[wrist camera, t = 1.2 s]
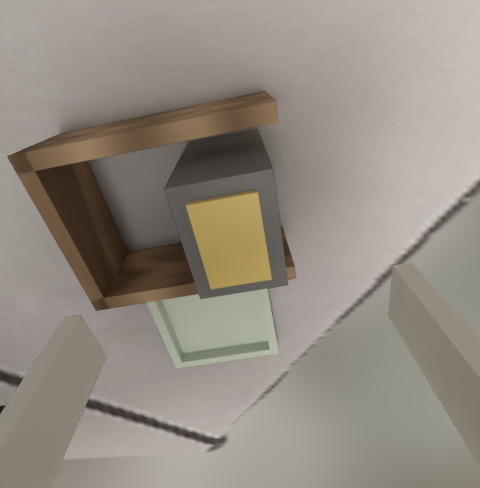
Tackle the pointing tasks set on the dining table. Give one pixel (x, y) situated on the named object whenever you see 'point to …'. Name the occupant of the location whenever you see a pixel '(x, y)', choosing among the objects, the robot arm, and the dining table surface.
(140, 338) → the dining table surface
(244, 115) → the bay
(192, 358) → the tray
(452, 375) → the robot arm
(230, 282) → the grey box yellow panel
